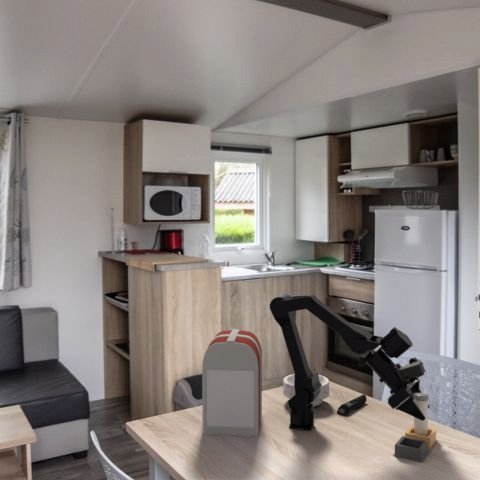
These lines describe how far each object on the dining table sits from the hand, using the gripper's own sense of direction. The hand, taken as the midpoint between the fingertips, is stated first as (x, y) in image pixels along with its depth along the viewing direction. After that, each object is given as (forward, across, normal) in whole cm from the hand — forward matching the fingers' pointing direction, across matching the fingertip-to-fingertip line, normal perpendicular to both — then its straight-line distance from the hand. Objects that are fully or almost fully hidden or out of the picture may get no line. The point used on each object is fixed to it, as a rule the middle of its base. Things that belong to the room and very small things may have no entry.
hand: (426, 413), depth 151 cm
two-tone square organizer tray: (+5, -4, +8) cm, 10 cm away
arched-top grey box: (-32, -7, +45) cm, 56 cm away
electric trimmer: (-11, +21, +25) cm, 34 cm away
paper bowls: (-22, +19, +35) cm, 46 cm away
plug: (+5, 0, +7) cm, 8 cm away
